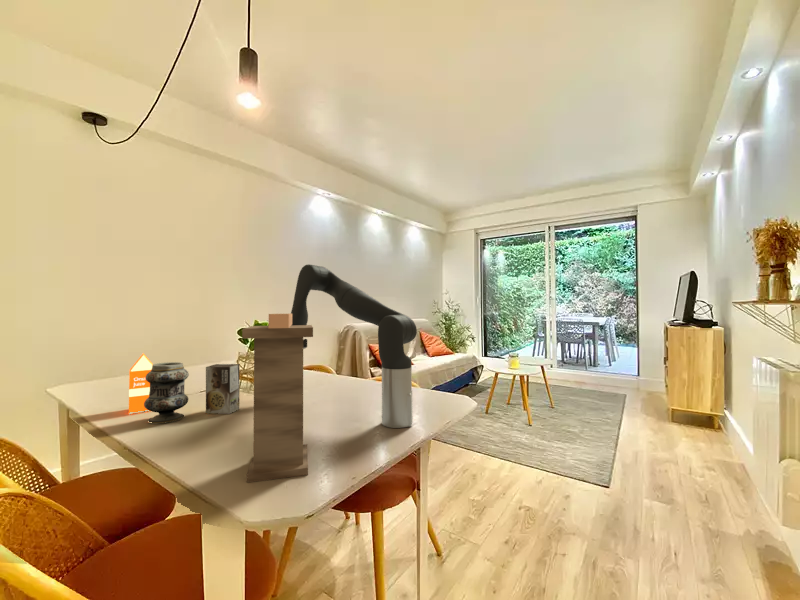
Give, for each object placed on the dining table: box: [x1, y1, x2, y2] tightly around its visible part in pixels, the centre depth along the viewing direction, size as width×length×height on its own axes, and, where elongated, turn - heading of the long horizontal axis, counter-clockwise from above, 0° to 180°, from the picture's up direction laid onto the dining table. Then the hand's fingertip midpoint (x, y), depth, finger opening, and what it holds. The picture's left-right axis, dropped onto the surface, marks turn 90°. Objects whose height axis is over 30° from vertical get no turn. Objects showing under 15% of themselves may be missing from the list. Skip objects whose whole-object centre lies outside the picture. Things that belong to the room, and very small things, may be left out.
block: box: [268, 313, 292, 328], centre depth 87 cm, size 26×4×3 cm, turn 15°
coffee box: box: [205, 363, 240, 415], centre depth 124 cm, size 9×6×16 cm
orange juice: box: [128, 352, 154, 414], centre depth 127 cm, size 8×9×20 cm
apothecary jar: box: [144, 361, 190, 424], centre depth 116 cm, size 12×12×18 cm
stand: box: [241, 324, 314, 483], centre depth 82 cm, size 16×14×31 cm
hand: (283, 341), depth 109 cm, fingers open, 8 cm apart
